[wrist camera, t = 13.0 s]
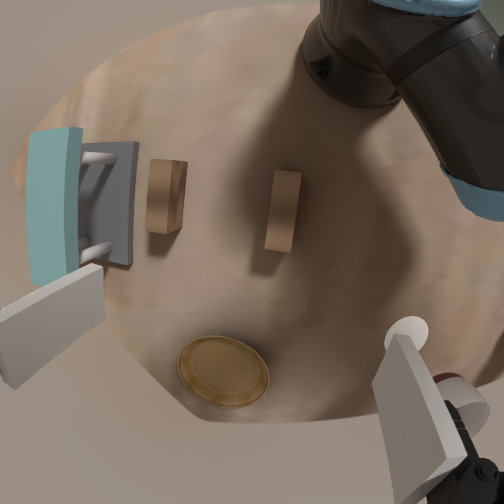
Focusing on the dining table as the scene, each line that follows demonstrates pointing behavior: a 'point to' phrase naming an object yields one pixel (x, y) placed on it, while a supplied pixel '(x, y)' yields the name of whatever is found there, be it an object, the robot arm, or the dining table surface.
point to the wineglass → (446, 378)
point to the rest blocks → (173, 191)
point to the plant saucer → (223, 372)
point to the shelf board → (53, 203)
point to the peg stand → (106, 201)
